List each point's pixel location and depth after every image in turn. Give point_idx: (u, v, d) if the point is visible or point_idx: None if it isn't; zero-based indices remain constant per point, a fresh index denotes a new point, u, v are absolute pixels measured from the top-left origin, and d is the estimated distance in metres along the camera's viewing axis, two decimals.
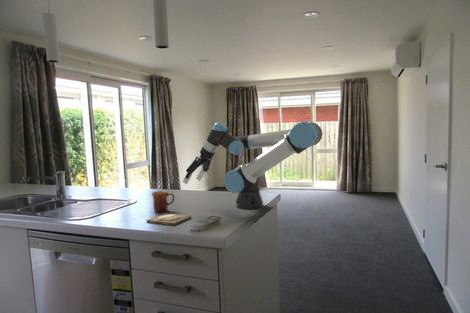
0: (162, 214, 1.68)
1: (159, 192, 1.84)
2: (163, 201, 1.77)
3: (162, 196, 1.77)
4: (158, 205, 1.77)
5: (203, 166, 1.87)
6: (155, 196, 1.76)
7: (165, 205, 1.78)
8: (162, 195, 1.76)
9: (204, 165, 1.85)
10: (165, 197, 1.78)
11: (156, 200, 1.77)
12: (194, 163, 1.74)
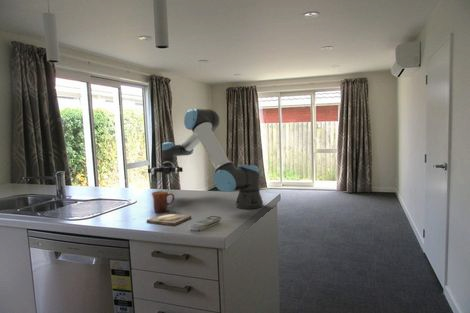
0: (162, 214, 1.68)
1: (159, 192, 1.84)
2: (163, 201, 1.77)
3: (162, 196, 1.77)
4: (158, 205, 1.77)
5: (174, 170, 1.98)
6: (155, 196, 1.76)
7: (165, 205, 1.78)
8: (162, 195, 1.76)
9: (172, 168, 1.99)
10: (165, 197, 1.78)
11: (156, 200, 1.77)
12: None
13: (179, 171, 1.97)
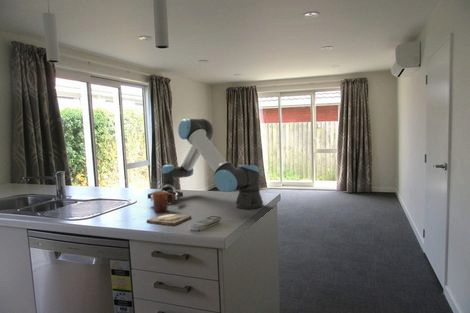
0: (162, 214, 1.68)
1: (159, 192, 1.84)
2: (163, 201, 1.77)
3: (162, 196, 1.77)
4: (158, 205, 1.77)
5: (174, 195, 1.96)
6: (155, 196, 1.76)
7: (165, 205, 1.78)
8: (162, 195, 1.76)
9: (172, 193, 1.98)
10: (165, 197, 1.78)
11: (156, 200, 1.77)
12: None
13: (179, 196, 1.95)
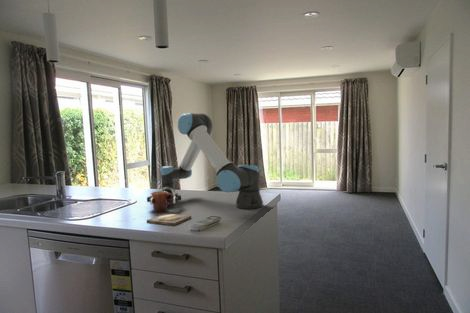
0: (162, 214, 1.68)
1: (159, 192, 1.83)
2: (162, 201, 1.77)
3: (161, 196, 1.76)
4: (157, 205, 1.77)
5: None
6: (154, 196, 1.76)
7: (164, 205, 1.78)
8: (161, 195, 1.76)
9: (171, 196, 1.87)
10: (164, 197, 1.78)
11: (155, 200, 1.77)
12: None
13: (177, 199, 1.84)
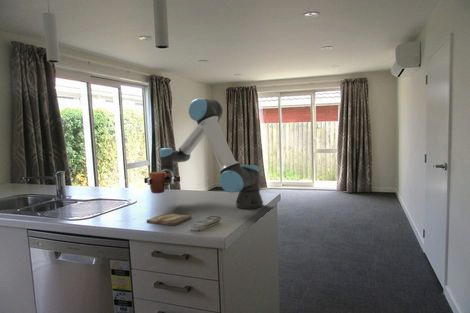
0: (162, 214, 1.68)
1: (157, 173, 1.74)
2: (160, 181, 1.68)
3: (159, 176, 1.67)
4: (155, 186, 1.67)
5: None
6: (152, 176, 1.67)
7: (162, 186, 1.69)
8: (159, 175, 1.67)
9: None
10: (162, 177, 1.69)
11: (153, 180, 1.68)
12: None
13: (176, 181, 1.75)
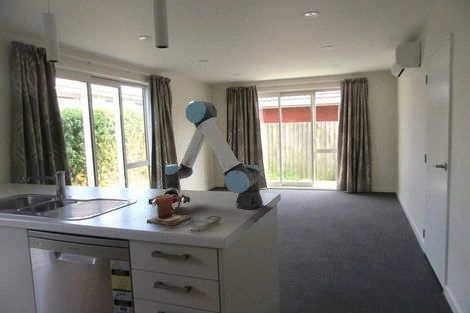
0: None
1: (163, 196, 1.63)
2: (168, 206, 1.57)
3: (166, 201, 1.56)
4: (162, 211, 1.57)
5: (180, 200, 1.66)
6: (159, 201, 1.56)
7: (170, 211, 1.58)
8: (166, 199, 1.56)
9: None
10: (170, 202, 1.58)
11: (160, 205, 1.57)
12: None
13: None
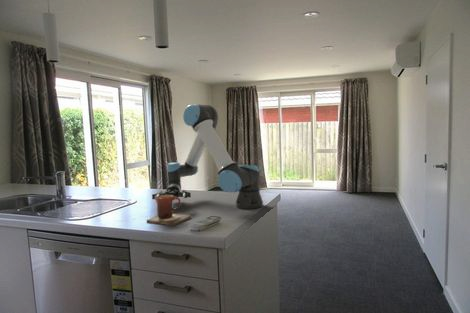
0: None
1: (163, 196, 1.63)
2: (168, 206, 1.57)
3: (167, 201, 1.56)
4: (162, 211, 1.57)
5: (181, 195, 1.79)
6: (159, 201, 1.56)
7: (170, 211, 1.58)
8: (167, 199, 1.56)
9: (179, 193, 1.80)
10: (170, 202, 1.58)
11: (160, 205, 1.57)
12: None
13: None
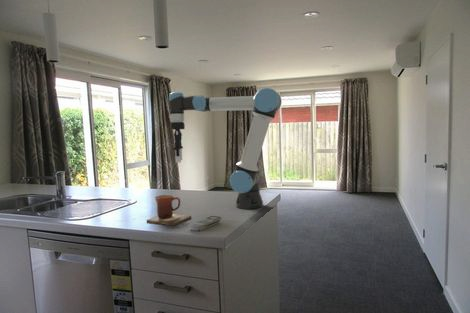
0: None
1: (163, 196, 1.63)
2: (168, 206, 1.57)
3: (166, 201, 1.56)
4: (162, 211, 1.57)
5: None
6: (159, 201, 1.56)
7: (170, 211, 1.58)
8: (166, 199, 1.56)
9: None
10: (170, 202, 1.58)
11: (160, 205, 1.57)
12: (177, 137, 1.71)
13: None
